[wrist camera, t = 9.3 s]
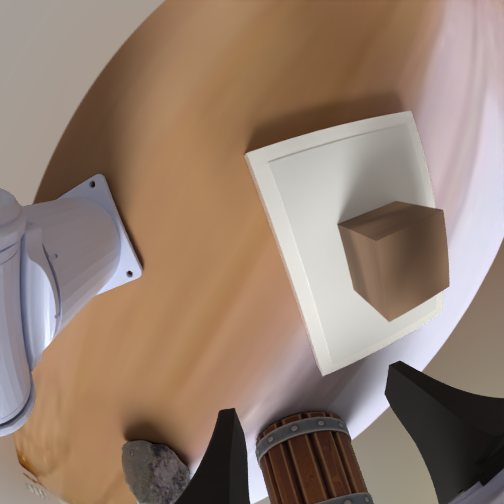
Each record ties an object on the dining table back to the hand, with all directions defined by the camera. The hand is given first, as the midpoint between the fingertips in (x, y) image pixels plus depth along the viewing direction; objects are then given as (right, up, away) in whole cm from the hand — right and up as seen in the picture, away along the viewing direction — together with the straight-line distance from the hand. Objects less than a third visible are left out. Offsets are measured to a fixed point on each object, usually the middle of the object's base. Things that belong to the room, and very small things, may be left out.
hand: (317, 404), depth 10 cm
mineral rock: (-15, -21, +15) cm, 30 cm away
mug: (+2, -17, +16) cm, 23 cm away
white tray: (+6, +7, +9) cm, 13 cm away
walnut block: (+6, +7, +7) cm, 12 cm away
